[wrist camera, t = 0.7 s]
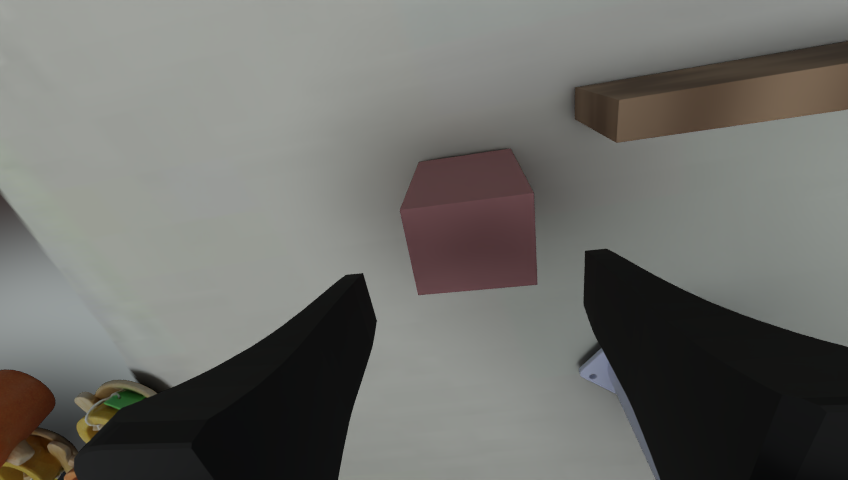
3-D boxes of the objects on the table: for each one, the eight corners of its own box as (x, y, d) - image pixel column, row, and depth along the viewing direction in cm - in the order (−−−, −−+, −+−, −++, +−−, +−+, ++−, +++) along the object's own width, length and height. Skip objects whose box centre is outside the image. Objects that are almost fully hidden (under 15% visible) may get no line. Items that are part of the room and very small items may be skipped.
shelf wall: (1038, 8, 15) (1325, -15, 10) (1017, 49, 15) (1277, 47, 10) (575, 87, 18) (619, 99, 13) (574, 119, 18) (616, 142, 13)
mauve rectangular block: (510, 148, 19) (534, 193, 13) (515, 216, 21) (537, 284, 15) (418, 162, 20) (399, 210, 14) (430, 226, 22) (418, 295, 16)
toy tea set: (35, 460, 40) (-83, 572, 31) (-52, 356, 32) (-236, 463, 24) (262, 482, 37) (202, 609, 29) (221, 374, 30) (126, 501, 22)
